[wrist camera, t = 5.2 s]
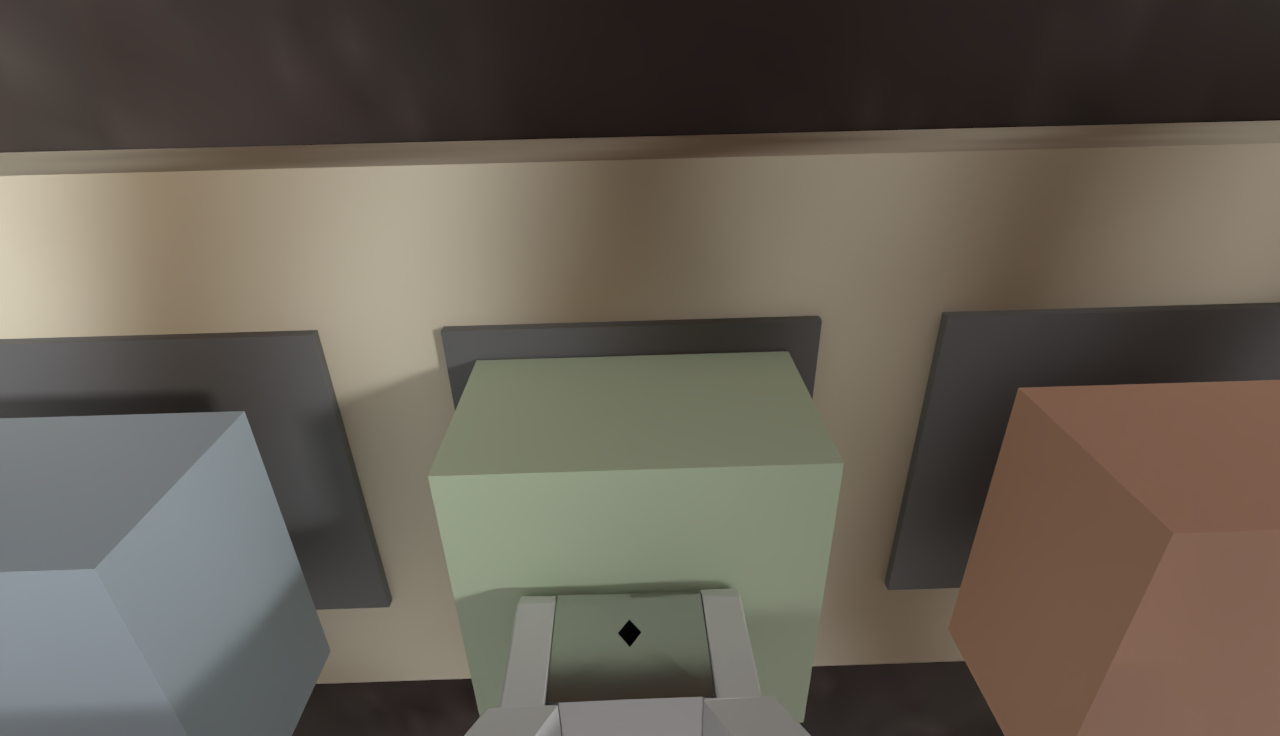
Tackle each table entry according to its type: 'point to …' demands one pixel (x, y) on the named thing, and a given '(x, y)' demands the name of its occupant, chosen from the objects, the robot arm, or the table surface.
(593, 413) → the sage button
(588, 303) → the button board
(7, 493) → the slate button
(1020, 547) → the terracotta button
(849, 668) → the table surface
